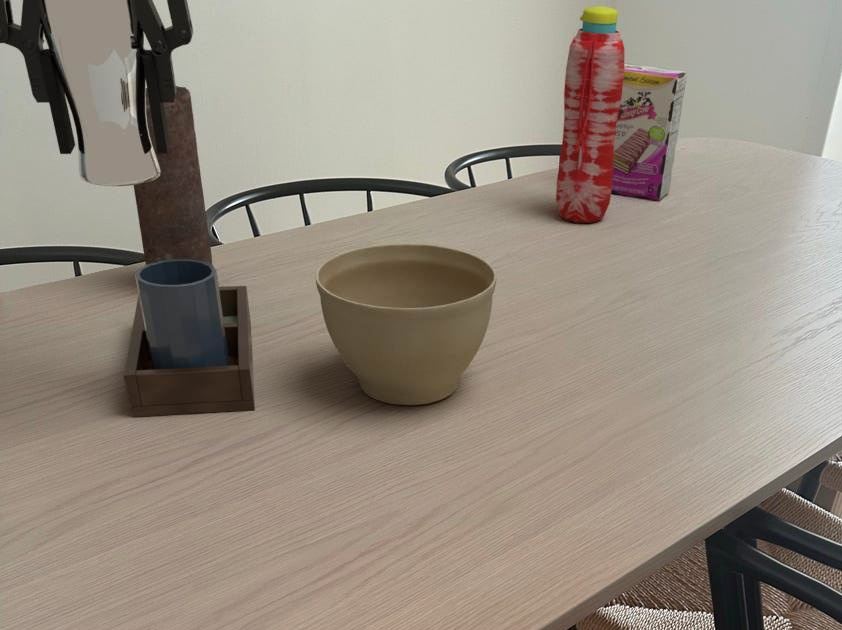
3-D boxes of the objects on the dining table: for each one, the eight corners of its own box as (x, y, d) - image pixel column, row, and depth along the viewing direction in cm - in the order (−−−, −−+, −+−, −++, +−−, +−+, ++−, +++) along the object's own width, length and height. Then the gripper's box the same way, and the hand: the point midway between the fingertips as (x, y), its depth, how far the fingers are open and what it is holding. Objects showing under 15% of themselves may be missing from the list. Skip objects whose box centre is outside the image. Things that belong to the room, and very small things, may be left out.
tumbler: (163, 400, 89) (143, 290, 83) (149, 370, 94) (129, 263, 87) (238, 388, 91) (223, 280, 85) (221, 359, 96) (206, 255, 90)
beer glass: (78, 191, 74) (27, -52, 64) (70, 166, 79) (21, -63, 69) (173, 184, 76) (137, -52, 67) (159, 161, 81) (124, -62, 72)
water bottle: (569, 199, 144) (586, -3, 128) (622, 207, 142) (646, 2, 126) (542, 222, 136) (557, 8, 120) (598, 231, 134) (621, 14, 118)
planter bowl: (327, 350, 101) (319, 241, 94) (485, 350, 102) (488, 243, 95) (319, 425, 89) (309, 306, 82) (498, 424, 90) (504, 306, 83)
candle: (226, 290, 113) (200, 94, 100) (164, 302, 109) (129, 101, 97) (200, 270, 117) (172, 80, 105) (140, 281, 114) (103, 86, 101)
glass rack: (132, 417, 89) (123, 375, 86) (146, 327, 104) (139, 289, 101) (254, 410, 90) (249, 368, 88) (250, 322, 106) (246, 285, 103)
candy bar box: (588, 191, 148) (600, 66, 138) (600, 182, 152) (612, 60, 141) (660, 202, 145) (678, 75, 134) (670, 194, 148) (688, 69, 138)
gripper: (-144, -264, 57) (-28, 163, 72) (199, -246, 60) (243, 161, 75) (-109, -258, 63) (-7, 137, 78) (203, -241, 66) (244, 136, 81)
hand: (116, 148), depth 76 cm, fingers closed on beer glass, 6 cm apart
